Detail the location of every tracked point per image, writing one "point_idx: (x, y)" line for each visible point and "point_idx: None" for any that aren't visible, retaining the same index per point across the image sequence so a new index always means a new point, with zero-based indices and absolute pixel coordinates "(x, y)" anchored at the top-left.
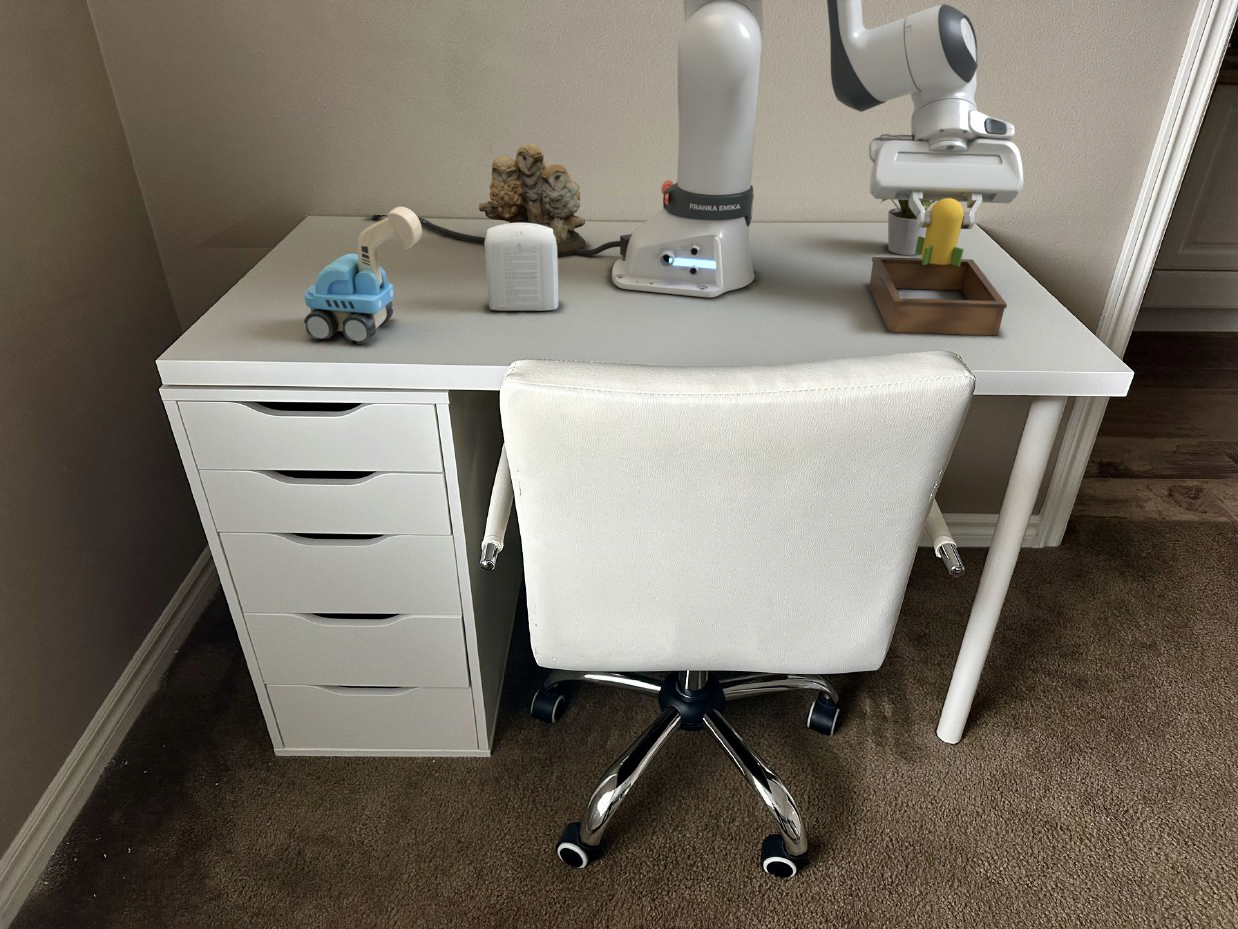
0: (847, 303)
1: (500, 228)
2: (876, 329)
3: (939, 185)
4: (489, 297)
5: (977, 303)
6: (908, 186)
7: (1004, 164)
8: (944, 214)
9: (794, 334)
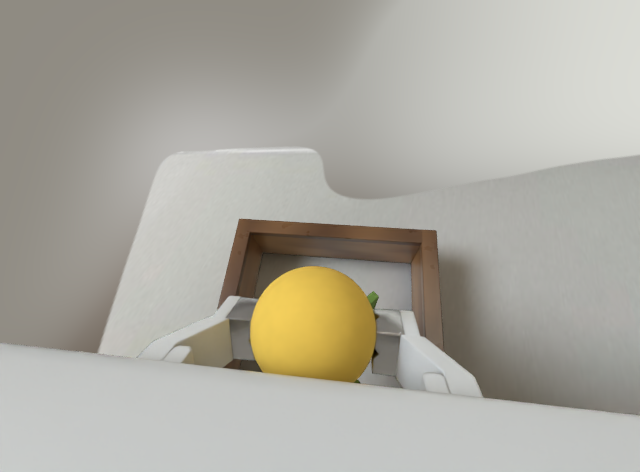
0: (487, 394)
1: None
2: (439, 266)
3: (344, 389)
4: None
5: (287, 222)
6: (537, 406)
7: None
8: (340, 272)
9: (578, 247)
